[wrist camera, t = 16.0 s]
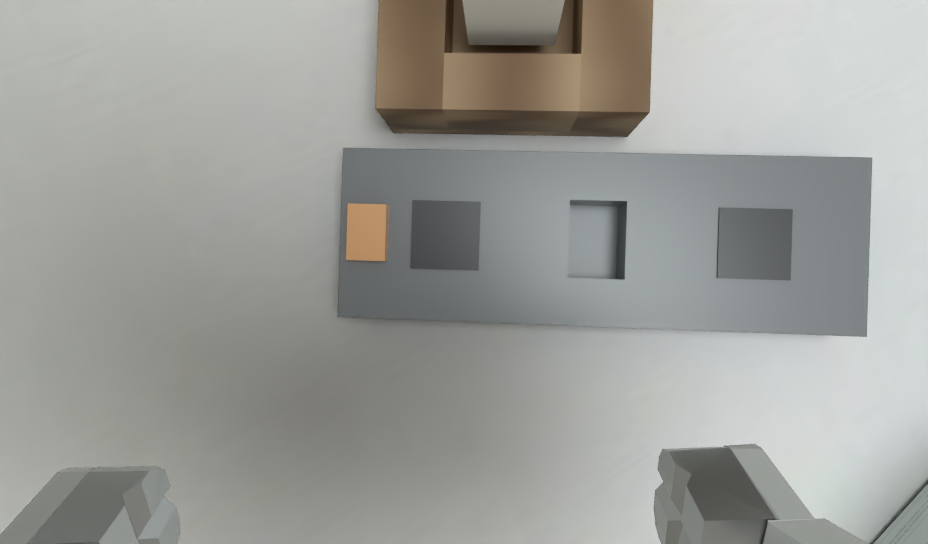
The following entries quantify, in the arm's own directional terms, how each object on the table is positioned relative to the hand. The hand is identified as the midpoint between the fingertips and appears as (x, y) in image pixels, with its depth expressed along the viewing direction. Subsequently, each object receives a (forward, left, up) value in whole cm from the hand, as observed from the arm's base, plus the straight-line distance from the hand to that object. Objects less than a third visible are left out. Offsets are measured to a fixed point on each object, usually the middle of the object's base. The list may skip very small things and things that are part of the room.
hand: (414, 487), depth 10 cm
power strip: (+4, +7, -21) cm, 22 cm away
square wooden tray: (-3, +17, -21) cm, 27 cm away
